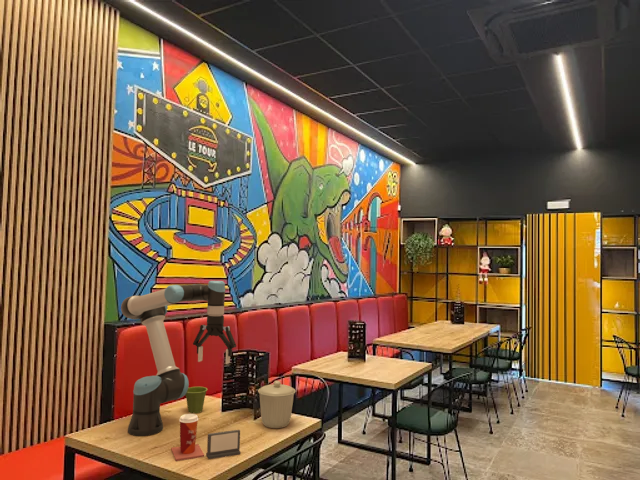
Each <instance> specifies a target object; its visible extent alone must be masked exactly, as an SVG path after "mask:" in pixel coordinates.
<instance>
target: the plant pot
mask: <svg viewBox="0 0 640 480" xmlns="http://www.w3.org/2000/svg"><path fill="white" fill-rule="evenodd" d="M207 391H208V388H207V387H204V386H191V387H188V390H187V393H186V394H185V395H184V396H185V397H186V406H187V412H188V414H199V413H202V411H203V409H204V404H205V398H206V394H207Z"/></svg>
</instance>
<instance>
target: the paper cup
mask: <svg viewBox="0 0 640 480" xmlns="http://www.w3.org/2000/svg"><path fill="white" fill-rule="evenodd" d="M178 421H179V443H180V445H179V447H180V451H181V453H182V454H190V453H193V452H194V451H195V444H197V443H196V442H197V433H198V431H197V430H198V423H199V422H198V421H199V417H198V415H197V413H184V414H182V415H181V416H180V417H179V420H178Z"/></svg>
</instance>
